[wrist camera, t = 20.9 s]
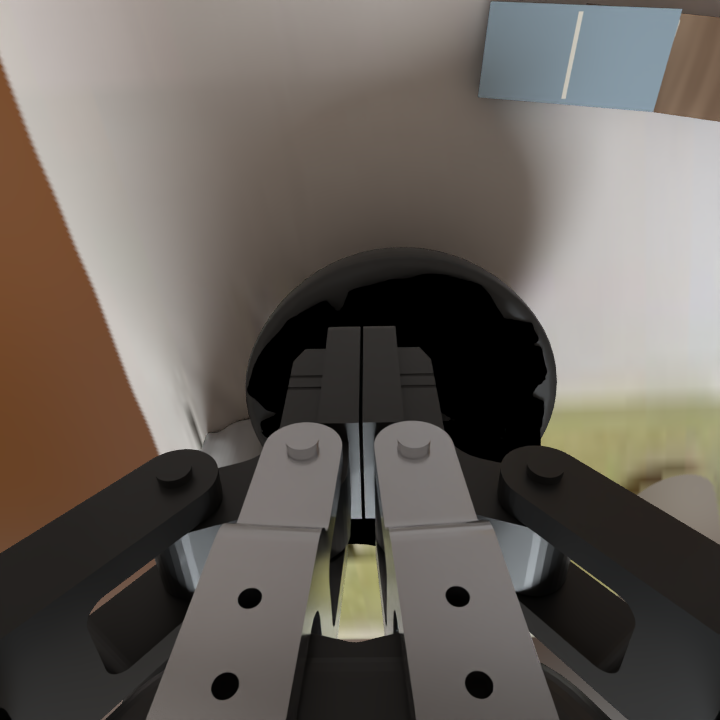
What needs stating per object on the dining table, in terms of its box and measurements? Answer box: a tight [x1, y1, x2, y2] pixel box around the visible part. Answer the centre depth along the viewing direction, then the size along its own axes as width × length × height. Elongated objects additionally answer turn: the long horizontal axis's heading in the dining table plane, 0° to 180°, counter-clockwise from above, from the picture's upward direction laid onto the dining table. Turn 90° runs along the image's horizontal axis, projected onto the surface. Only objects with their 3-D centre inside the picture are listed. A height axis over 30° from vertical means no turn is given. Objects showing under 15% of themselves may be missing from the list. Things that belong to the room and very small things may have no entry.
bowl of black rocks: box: [246, 247, 557, 546], centre depth 38 cm, size 20×20×19 cm
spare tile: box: [478, 1, 682, 112], centre depth 33 cm, size 2×5×10 cm
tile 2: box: [586, 4, 720, 122], centre depth 33 cm, size 2×5×10 cm
